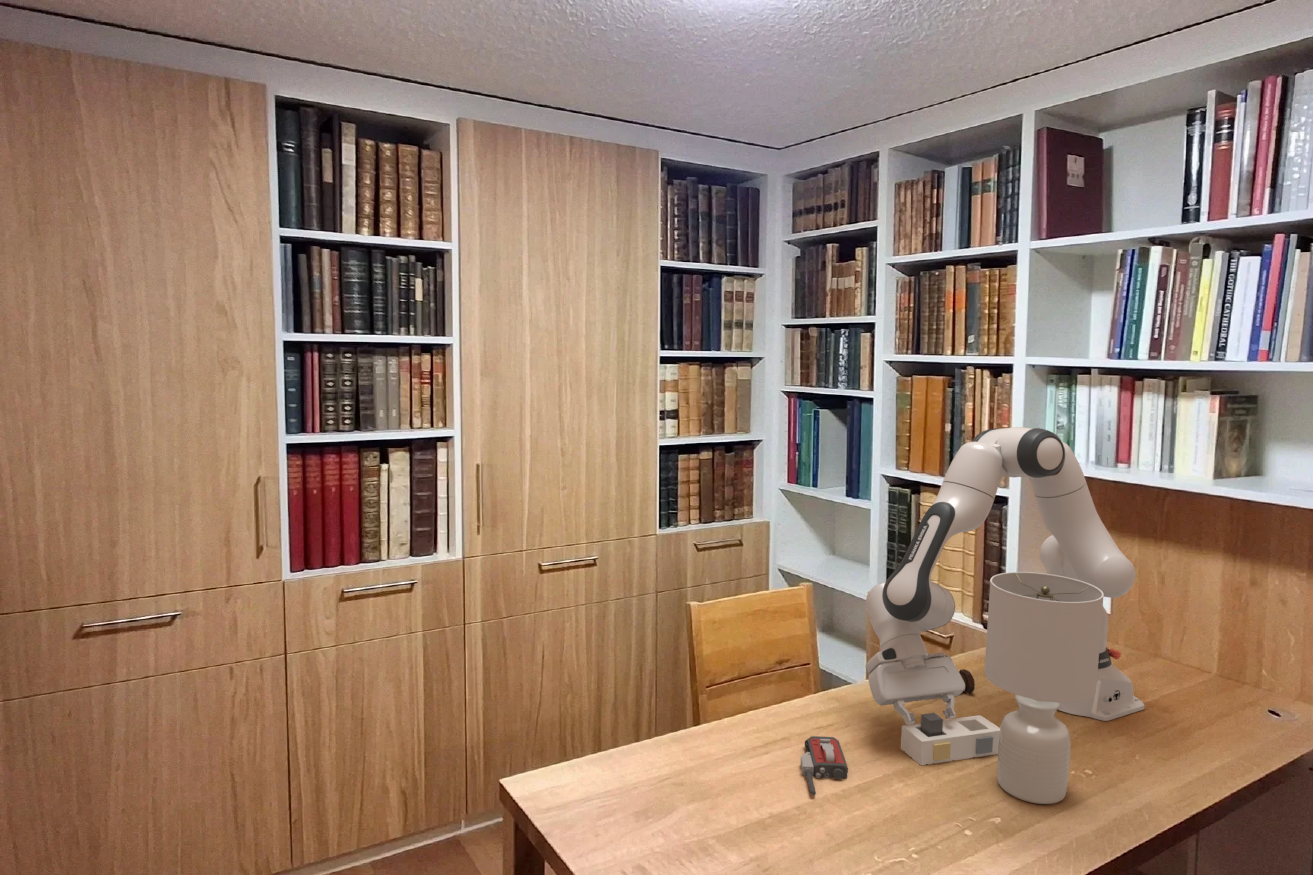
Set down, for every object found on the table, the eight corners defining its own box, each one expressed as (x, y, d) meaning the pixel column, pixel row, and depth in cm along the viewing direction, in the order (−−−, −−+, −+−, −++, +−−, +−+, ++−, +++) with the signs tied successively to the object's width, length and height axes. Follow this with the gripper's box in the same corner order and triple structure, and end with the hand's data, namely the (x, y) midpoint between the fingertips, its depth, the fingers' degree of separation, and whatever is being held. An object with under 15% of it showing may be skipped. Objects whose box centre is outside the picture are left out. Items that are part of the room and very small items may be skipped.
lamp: (1085, 828, 140) (1103, 609, 136) (970, 797, 149) (983, 591, 145) (1088, 779, 156) (1104, 581, 152) (984, 753, 165) (996, 566, 161)
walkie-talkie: (795, 746, 168) (807, 800, 148) (795, 726, 168) (807, 777, 148) (837, 748, 168) (855, 802, 148) (838, 728, 167) (856, 779, 147)
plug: (931, 749, 167) (934, 712, 166) (940, 756, 164) (943, 718, 163) (919, 751, 166) (921, 714, 165) (928, 758, 163) (930, 720, 162)
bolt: (910, 701, 194) (966, 694, 197) (919, 699, 190) (977, 692, 192) (904, 676, 196) (960, 670, 199) (913, 673, 192) (971, 667, 195)
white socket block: (978, 737, 173) (980, 714, 172) (1003, 754, 165) (1004, 731, 165) (900, 748, 167) (901, 725, 167) (922, 766, 160) (923, 742, 159)
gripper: (941, 657, 178) (967, 720, 169) (858, 666, 172) (881, 731, 164) (955, 645, 173) (982, 708, 165) (870, 654, 167) (894, 720, 159)
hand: (931, 720), depth 164 cm, fingers open, 8 cm apart
